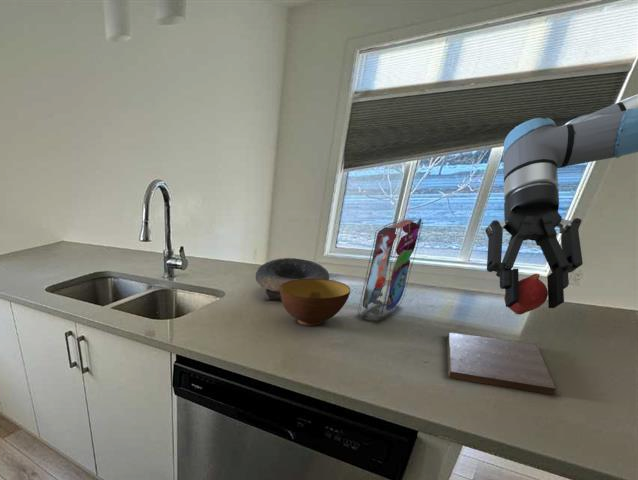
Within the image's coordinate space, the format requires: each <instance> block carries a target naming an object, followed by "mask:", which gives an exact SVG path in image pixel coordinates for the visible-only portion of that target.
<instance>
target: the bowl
mask: <svg viewBox="0 0 638 480" xmlns="http://www.w3.org/2000/svg"><path fill="white" fill-rule="evenodd" d="M280 294H281V299H280V300H281V303H282V306H283V307H284V309H285V311H286V312H287V313H288V315H290V316H291V317H292V318H294V319H296V320H297V323H299V324H301V325H303V326H309V327H313V326H314V327H315V326H319V325H321V324H322V322H325V321H327V320H330V319H331V318H332V317H333V318H334V316H335V315H337V314H338V313H340V310H342V309H343V307H344V306H345V305H346V303H347V301H348V299H349V296H350V294H351V287H350V286H349V285H347V284H346V283H343V282H341V281H337V280H333V279H329V280H327V279H297V280H292V281H288V282H286V283H284V284H282V285H281V289H280Z"/></svg>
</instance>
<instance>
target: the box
mask: <svg viewBox="0 0 638 480" xmlns="http://www.w3.org/2000/svg"><path fill="white" fill-rule="evenodd" d="M423 222H424V221H423V220H422V218H417V219H416V218H415V219H405V218H404V219H400V220H397V221H393V222H390V223H388V224H385V225H383V226H382V228H381V229H380V228H378V229H376V230H375V234H374V239H373V245H372V249H371V252H370V256H369V261H368V265H367V268H369V267H370V269H366V274H365V277H367V278H365V279H364V281H365V282H364V283H363V285H364V286H363V287H362V292H361V296H360V301H359V302H360V304H359V306H358V307H359V308H358V310H357V312H358V313H357V315H358V316H361V315H362V320H364V321H366V319H364V318H367V319H368V321H369V322H370V321H373V322H375V323H376V320H374V319H372V318H370V317H368V316H365V315H366V314H367V311H368V309H369V305H377V306H375V307H371V308H370V310H369V312H370V314H371V315H372V316H376V317H379V316H380V318H379V320H378V321H377V323H379V322H382V321H383V320H385V319H386V317H387V316H388V317H390V316H391V314H389V313H387V314H385V315H384V316H383V312H384V309H385V311H386V312H388V311H389V312H390V313H392V314H394V313H395V311H397V310H399V306H400V304H402V302H403V300H404V297H405V293H406V292H405V291H407V287H408V285H406V284H408V282H409V281H407V280H409V279H410V277H408V276H411V275H410V274H411V270H412V267H413V264H414V260H415V258H416V257H415V256H416V252H417V249H418V245H419V241H420V238H421V233H422V229H423V225H424V223H423ZM397 230H399V231H397ZM401 230H402V231H403V233H405V235H401V237H400V234H401ZM399 237H400V239H399ZM398 240H399V242H398ZM417 240H418V242H417ZM397 242H398V243H397ZM396 243H397V244H396ZM395 245H396V246H395ZM394 248H395V251H394V250H393V249H394ZM414 250H415V252H414ZM393 252H394V253H393ZM395 253H396V256H395ZM413 253H414V255H413V256H414V257H413V261H412V262H411V259H410V258H411V256H412V254H413ZM392 254H393V255H392ZM394 257H395V260H394V262H393V259H394ZM392 262H393V263H394V264H393V268H391V267H392ZM370 263H371V264H370ZM410 264H411V265H410ZM389 265H390V267H389ZM388 268H389V274H388ZM391 269H392V270H391ZM368 272H369V273H368ZM408 273H409V274H408ZM387 274H388V277H390V278H388V283H387V285H386V280H387ZM390 274H391V275H390ZM385 286H387V287H386V290H385V292H383V290H384V287H385ZM363 293H364V294H363ZM384 293H385V294H384ZM387 295H388V296H387ZM383 296H384V301H381V298H382V297H383ZM379 297H380V298H379ZM401 299H402V300H401ZM386 300H387V301H386ZM399 302H400V303H399ZM361 304H362V307H363V308H364V309H365V310H364V311H363V312H362V313H361V312H360V311H361V309H362V307H361ZM380 306H382V309H381V311H380V309H379V308H378V307H380ZM384 307H385V308H384ZM395 307H396V308H395ZM359 309H360V310H359ZM381 319H382V320H381Z"/></svg>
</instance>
